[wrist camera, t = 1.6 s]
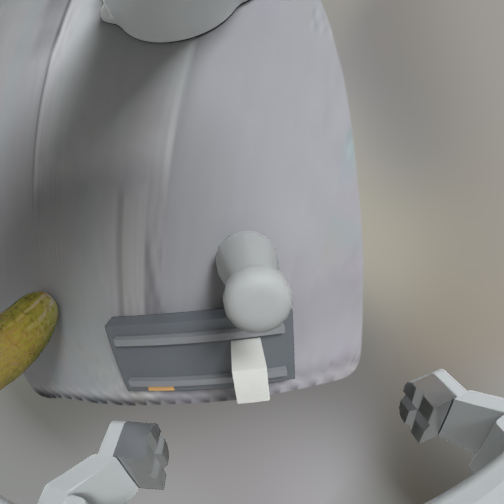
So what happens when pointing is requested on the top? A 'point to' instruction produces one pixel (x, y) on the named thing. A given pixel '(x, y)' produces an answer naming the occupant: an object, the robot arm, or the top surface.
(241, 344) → the slider knob
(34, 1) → the top surface
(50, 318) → the vegetable
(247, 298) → the salt shaker
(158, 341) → the switch plate
